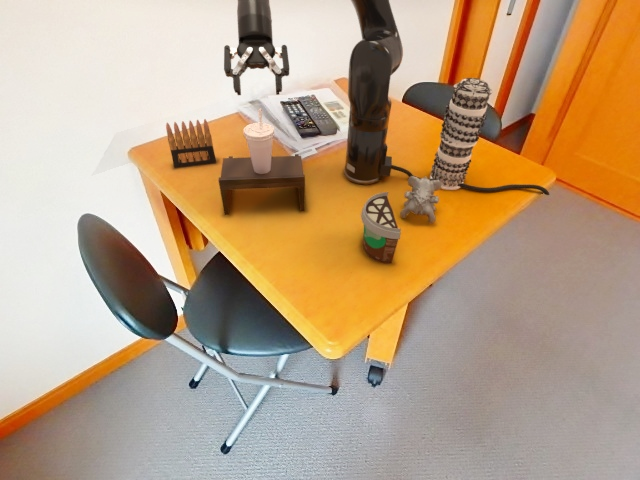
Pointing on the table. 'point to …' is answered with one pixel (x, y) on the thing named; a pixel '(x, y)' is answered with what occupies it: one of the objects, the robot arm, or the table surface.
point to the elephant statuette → (421, 197)
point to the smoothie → (260, 144)
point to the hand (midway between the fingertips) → (258, 93)
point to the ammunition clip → (190, 149)
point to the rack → (261, 177)
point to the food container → (379, 229)
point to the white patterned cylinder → (460, 132)
